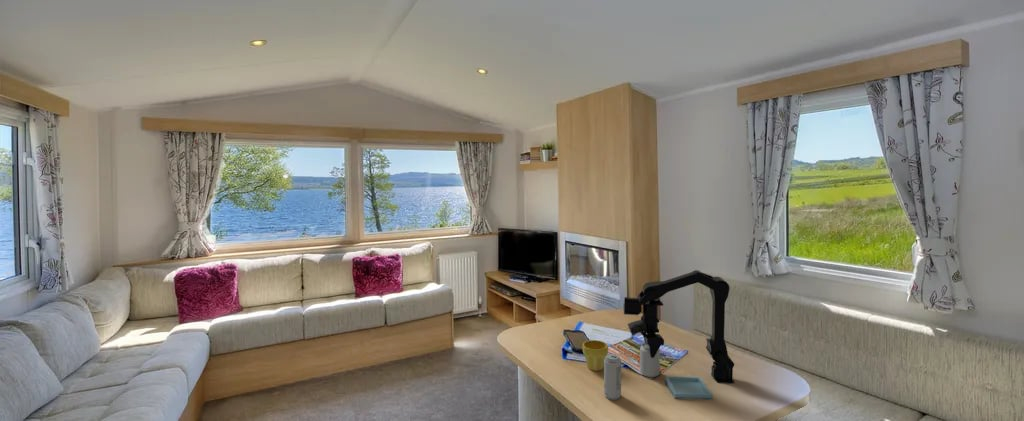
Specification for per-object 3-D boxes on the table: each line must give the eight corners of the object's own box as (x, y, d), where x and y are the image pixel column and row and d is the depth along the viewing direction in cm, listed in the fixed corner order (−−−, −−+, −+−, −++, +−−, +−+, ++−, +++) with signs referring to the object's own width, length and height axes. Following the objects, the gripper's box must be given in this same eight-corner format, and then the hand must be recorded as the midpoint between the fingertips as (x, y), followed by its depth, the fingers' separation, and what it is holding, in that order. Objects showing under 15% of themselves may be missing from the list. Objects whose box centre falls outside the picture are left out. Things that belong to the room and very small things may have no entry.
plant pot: (582, 361, 184) (582, 339, 183) (606, 362, 182) (606, 340, 181) (583, 372, 173) (582, 349, 173) (609, 373, 172) (609, 350, 171)
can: (660, 379, 167) (661, 349, 166) (640, 377, 168) (641, 348, 167) (658, 370, 174) (658, 341, 173) (639, 368, 175) (639, 340, 174)
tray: (699, 381, 164) (699, 377, 164) (712, 399, 151) (712, 394, 151) (664, 380, 165) (664, 376, 165) (674, 398, 152) (674, 393, 152)
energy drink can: (606, 390, 159) (607, 351, 157) (623, 394, 156) (623, 354, 154) (601, 398, 154) (601, 357, 152) (618, 402, 151) (618, 361, 149)
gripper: (625, 307, 179) (625, 343, 180) (634, 323, 160) (634, 363, 162) (652, 307, 178) (652, 344, 179) (664, 323, 159) (664, 364, 161)
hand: (649, 353), depth 170 cm, fingers closed on can, 7 cm apart
